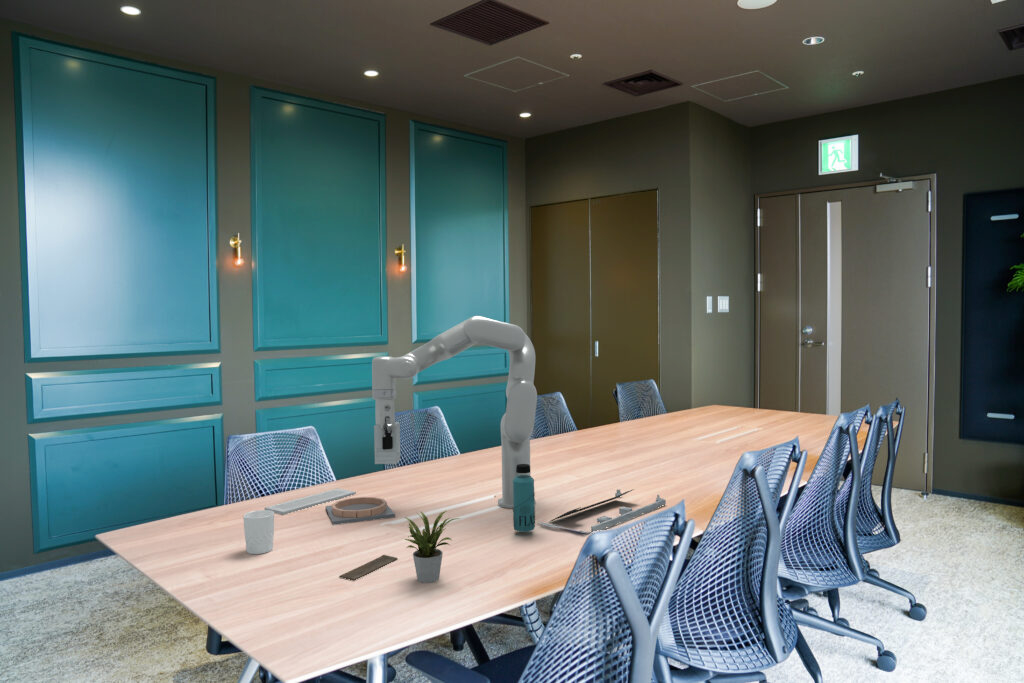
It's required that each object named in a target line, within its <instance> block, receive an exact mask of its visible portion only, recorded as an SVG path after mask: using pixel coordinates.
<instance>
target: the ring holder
mask: <svg viewBox="0 0 1024 683" xmlns="http://www.w3.org/2000/svg"><path fill="white" fill-rule="evenodd" d="M325 510H327V511H326V513H327V512H328V513H327V514H329V515H328V517H329V516H330V517H329V519H330V518H331V519H330V521H331V520H332V521H331V523H332V525H333V524H335V525H342V524H341V523H343V524H348V523H347V522H351V523H357V522H356V521H359V522H365V521H364V520H367V521H374V520H373V519H375V520H382V519H381V518H383V519H390V517H391V518H396V513H395V512H394V511H393V509H391V507H390V506H389V505H388V502H387V501H386V500H385V499H384V498H380V497H376V496H355V497H348V498H343V499H339V500H336V501H335V502H334V503H332V504H331V505H326V506H325Z"/></svg>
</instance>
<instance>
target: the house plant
mask: <svg viewBox="0 0 1024 683" xmlns="http://www.w3.org/2000/svg"><path fill="white" fill-rule="evenodd" d="M447 511H448V510H444V511H441V512H440V513H439V514H438V516H437V517H436V519H435V520H434V522H433V525H432V528H431V529H432V530H431V529H430V522H429V519H428V516H426V514H425V513H424V512H423V511H419V512H420V514H419V513H418V512H416V511H415V513H416V514H417V515H418V516H419V517H420V519H421V520H422V522H423V524H424V528H423V529H422V532H421V531H420V529H419V526H418V525H417V524H416V523H415V522H414V521H413V520H411V518H408V517H406V516H404V519H407V521H408V522H409V523H408V529H409V532H410V534H411V535H408V536H407V538H404V540H406V541H408V542H409V543H410V542H411V543H412V544H415V545H416V546H417V547H418V548H417V547H415V546H414V545H412V544H411V545H408V546H406V548H405V549H407V548H412V549H413V548H414V549H416V550H415V551H414V552H413V553H412V557H413V564H414V568H415V574H416V579H417V581H418V582H419V583H423V584H430V583H435V582H437V581H439V579H440V576H441V567H442V561H443V550H441V549H440V548H438V547H439V546H445V545H448V546H451V545H450V543H449V542H443V541H447V540H448V541H451V542H453V540H452V538H450V537H449V536H447V537H444V538H442V539H441V540H439V538H440V536H441V535H442V533H443V532H444V531H445V530H446V529H447V528H446V527H445V526H446V525H448V524H449V523H450V522H452V521H454V520H460V519H461V517H456V518H450V517H448V518H447V517H446V518H445V519H444V520H443V521H442V522H441V523H440V520H441V519H443V515H444V514H445V513H447ZM449 519H450V520H449ZM439 523H440V524H439ZM438 524H439V526H438ZM401 526H404V525H401ZM437 526H438V527H437ZM444 527H445V528H444ZM410 537H411V538H413V539H411V538H410Z"/></svg>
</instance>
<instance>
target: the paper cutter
mask: <svg viewBox="0 0 1024 683" xmlns="http://www.w3.org/2000/svg"><path fill="white" fill-rule="evenodd" d="M632 491H635V489H630V490H628V491H625V492H623V493H622V492H621V489H618V488H617V489H616V493H615V495H614V497H611V498H608V499H606V500H605V499H604V500H602V501H599V502H596V503H593V504H590V505H586V506H584V507H581V506H580V507H578V508H574V509H572V510H569V511H567V512H565V513H563V514H561V515H559V516H557V517H555V518H553V519H551V520H550V522H552V521H555V520H558V519H561V518H564V517H567V516H570V515H572V514H576V513H579V512H581V511H584V510H587V509H591V508H592V507H595V506H598V505H602V504H604V503H608V502H610V501H614V500H616V499H619V498H618V497H620V496H624V495H626V494H628V493H630V492H632ZM656 496H657V497H656V498H655V502H653V503H649V504H647V505H645V506H642V507H640V508H637V509H634V510H633V508H632V507H627V506H621V507H619V508H618V510H619V511H618V512H619V513H618V516H616V517H612V516H607V515H603V516H601V517H598V518H596V519H597V521H596V522H600V523H596V524H593V525H591V527H590V531H591V532H593V531H597V530H602V531H604V530H606V529H609V528H611V527H610V526H612V527H614V526H613V525H615V526H617V525H618V524H617V523H619V522H621V523H620V524H623V523H625V522H628V521H629V519H630V520H632V519H634V518H633V517H635V518H636V516H638V515H640V516H642V515H641V514H642V513H645V514H647V512H648V513H650V512H652V510H653V511H655V510H657V509H656V508H658V507H660V506H662V505H665V504H666V505H667V503H666V499H664V498H661V496H660V494H657V495H656ZM620 498H621V497H620ZM660 508H661V507H660ZM654 509H655V510H654ZM658 509H659V508H658ZM619 514H621V515H619ZM638 517H639V516H638ZM624 521H625V522H624ZM537 522H538V523H539V524H541V525H542V526H547V527H550V528H555V529H564V526H560V525H556V524H552V525H551V524H550V523H547V522H543V521H537ZM616 524H617V525H616ZM555 525H556V526H555ZM606 527H609V528H606ZM565 529H566V530H568V528H567V527H565ZM569 530H570V531H572V529H569ZM573 531H574V532H577V533H582V534H587V535H591V534H592V533H591V532H590V531H584V530H579V531H578V530H574V529H573Z"/></svg>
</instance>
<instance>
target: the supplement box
mask: <svg viewBox="0 0 1024 683" xmlns="http://www.w3.org/2000/svg"><path fill="white" fill-rule="evenodd" d="M400 423H401V422H399V421H398V422H397V421H395V429H394V428H392V427H391V429H392V437H393V448H392V449H386V450H383V449H382V437H383V431H382V430H381V429H380V426H379V425H378V424H376V423H375V425H373V434H374V435H373V437H374V439H373V443H374V448H373V450H374V465H396V464H398V463H399V462H400V460H401V439H400V438H401V431H400V427H401V426H400ZM385 427H387V425H386V426H384V428H385Z"/></svg>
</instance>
